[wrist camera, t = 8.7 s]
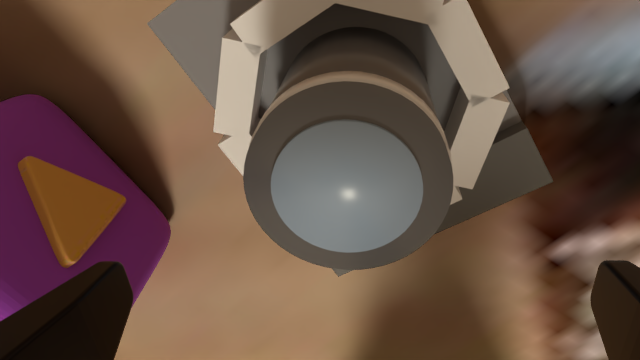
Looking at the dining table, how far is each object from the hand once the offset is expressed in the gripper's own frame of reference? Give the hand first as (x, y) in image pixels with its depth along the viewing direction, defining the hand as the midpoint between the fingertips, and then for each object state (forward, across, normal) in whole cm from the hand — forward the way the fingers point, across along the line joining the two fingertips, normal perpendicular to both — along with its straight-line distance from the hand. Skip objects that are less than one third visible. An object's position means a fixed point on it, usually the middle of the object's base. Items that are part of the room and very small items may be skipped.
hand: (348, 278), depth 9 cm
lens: (+9, 0, 0) cm, 9 cm away
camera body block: (+12, 0, 0) cm, 12 cm away
